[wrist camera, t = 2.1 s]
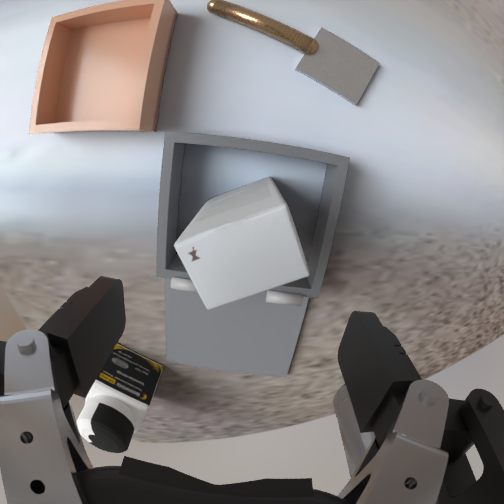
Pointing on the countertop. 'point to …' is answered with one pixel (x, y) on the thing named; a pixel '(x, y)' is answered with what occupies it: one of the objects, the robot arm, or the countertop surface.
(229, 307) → the bin
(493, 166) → the countertop surface
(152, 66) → the bin
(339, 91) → the hand shovel
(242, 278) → the skincare box
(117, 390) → the medicine bottle
